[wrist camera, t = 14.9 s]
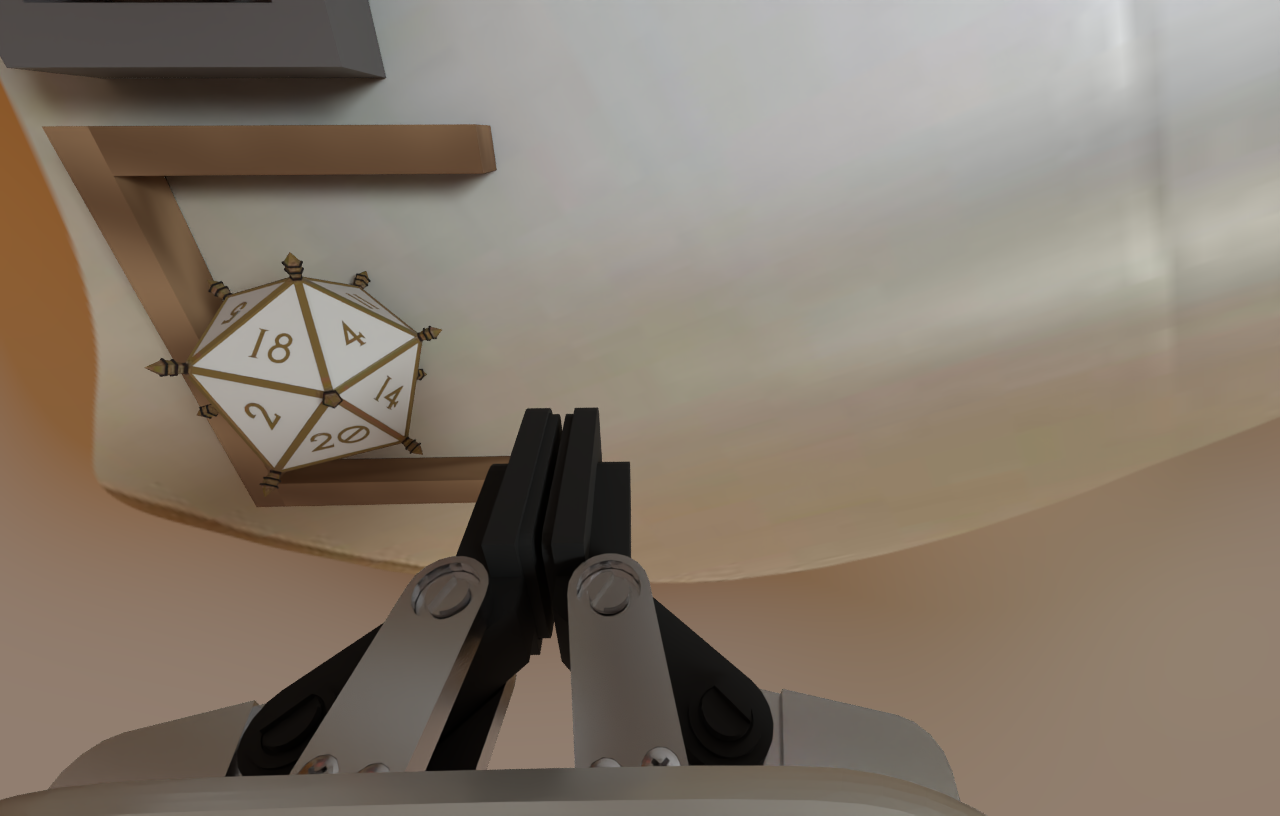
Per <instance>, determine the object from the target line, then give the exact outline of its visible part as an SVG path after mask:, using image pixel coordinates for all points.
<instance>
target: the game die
mask: <svg viewBox="0 0 1280 816" xmlns="http://www.w3.org/2000/svg"><path fill="white" fill-rule="evenodd" d="M302 263H303V261H299V260H298V259H297V258H296V257H295V256H294V255H292V254H291V253H290V252H289V254H288V256H287V257H286V259H285V261H283V262H282V264H283V265H284V266H285V268H284V270H285V271H286V272H287V273H288V274H289V275H290V277H288V278H285V279H282V280H278V281H275V282H272V283H268V284H265V285H262V286H258V287H255V288H251V289H248V290H245V291H241V292H238V293H235V294H232V293H230V291H229V288H228V287H227V286H224V284H223V282H222V281H220V282H217V281H212V280H207V282H208V286H209V291H208V292H211V293H213V294H215V295H214V296H215V297H220V298H222V299H223V300H224V301H223V303H222V305H221V306H220V308H219V309H218V311H217V313H216V314H215V316H214V317H213V319H212V321H211V322H210V324H209V325H208V327H207V329H206V330H205V332H204V333H203V335H202V336H201V338H200V340H199V341H198V343H197V344H196V346H195V348H194V349H193V351H192V352H191V354H190V356H189V357H188V359H187V360H186V362H185V363H180V362H176V361H175V360H174V359H171V361H168V360H164V359H163V358H161V359H160V361H158V362H156V363H154V364H151V365H149V366H147V367H145V368H146V369H148V370H150V371H152V372H155V373H157V374H159V376H160V377H163V376H168V375H170V376H177V375H178V374H185V375H186V376H187V377H188V379H189V380H190V381H191V382H192V383H193V384H194V385H195V386H196V388H197V389H198V390H199V391H200V392H201V393H202V394H203V395H204V397H205V398H206V399H207V400H208V401H209V402H210V403H211V404H208V405H205V406H201V407H199V408H200V410H199V412H198V414H197V416H203V417H206V418H209V419H211V418H212V417H213V416H215V417H216V416H217V415H218V413H220V415H221V416H222V417H223V418H224V419H225V420H226V421H227V422H228V424H229V425H230V426H231V427H232V428H233V429H234V430H235V431H236V433H237V434H238V435H239V436H240V437H241V438H242V439H243V440H244V442H245V443H246V444H247V445H248V446H249V447H250V448H251V449H252V451H253V452H254V453H255V454H256V455H257V456H258V457H259V459H260V460H261V461H262V462H263V463H264V464H265V465H266V466H267V468H268V469H269V470H270V472H269V474H268V475H267V476H266V477H263V479H264V480H263V482H262V483H260V484H259V485H261V486H262V490H263V493H264V496H265V497H266V496H267V495H268V494H270V493H271V492H272V491H274V490H275V489H278V488H279V487H278V484H279V482H281V480H280V475H281V474H282V473H284V472H288V471H292V470H296V469H300V468H304V467H308V466H312V465H316V464H320V463H324V462H328V461H332V460H336V459H340V458H344V457H348V456H352V455H356V454H360V453H364V452H368V451H372V450H376V449H380V448H384V447H388V446H392V445H396V444H400V443H402V444H404V446H405V447H406V448H405V449H406V450H407V449H408V450H409V451H410V454H411V453H415V454H421V455H423V453H422V450H421V446H420V444H421V443H417V442H416V440H413V439H410V438H409V437H408V435H409V428H410V421H411V414H412V407H413V401H414V394H415V387H416V380H417V379H419V380H420V381H421V380H422V378H423V377H424V376H426V375H427V374H426V373H425V372H424V371H423V369H418V367H419V360H420V353H421V346H422V341H423V340H427V341H430V340H431V339H437V336H438V335H439V333H440V332H441V331H442V329H437V328H433V327H431V326H429V328H426V329H425V328H423V331H421V332H420V333H417V332H416V331H415V330H413V329H412V328H411V327H410V326H408V325H407V324H406V323H405V322H403V321H402V320H401V319H400V318H398V317H397V316H396V315H395V314H393V313H392V312H391V311H390V310H388V309H387V308H386V307H385V306H383V305H382V304H381V303H380V302H378V301H377V300H376V299H375V298H373V297H372V296H371V295H370V294H368V293H367V292H366V291H365V290H363V289H364V287H366V286H368V282H370V280H369V278H368V275H367V272H366V271H365V272H362V273H360V274H356V278H355V285H348V284H343V283H337V282H331V281H325V280H319V279H313V278H307V277H302V272H303V270H304V268H303V267H302Z"/></svg>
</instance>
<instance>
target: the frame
mask: <svg viewBox="0 0 1280 816" xmlns="http://www.w3.org/2000/svg"><path fill="white" fill-rule="evenodd" d="M42 128H43V129H44V131H45V133H46V135H47V137H48V138H49V140H50V142H51V144H52V145H53V147H54V149H55V151H56V152H57V154H58V156H59V158H60V160H61V161H62V163H63V165H64V167H65V168H66V170H67V172H68V174H69V175H70V177H71V179H72V181H73V183H74V184H75V186H76V188H77V190H78V191H79V193H80V195H81V197H82V198H83V200H84V202H85V204H86V206H87V207H88V209H89V211H90V213H91V214H92V216H93V218H94V220H95V221H96V223H97V225H98V227H99V229H100V230H101V232H102V234H103V236H104V237H105V239H106V241H107V243H108V245H109V246H110V248H111V250H112V252H113V253H114V255H115V257H116V259H117V260H118V262H119V264H120V266H121V268H122V269H123V271H124V273H125V275H126V276H127V278H128V280H129V282H130V283H131V285H132V287H133V289H134V291H135V292H136V294H137V296H138V298H139V299H140V301H141V303H142V305H143V306H144V308H145V310H146V312H147V314H148V315H149V317H150V319H151V321H152V322H153V324H154V326H155V328H156V329H157V331H158V333H159V335H160V337H161V338H162V340H163V342H164V344H165V345H166V347H167V349H168V351H169V352H170V354H171V356H172V358H173V359H174V360H175V361H176V362H180V363H185V362H186V360H187V359H188V357H189V356H190V354H191V352H192V351H193V349H194V348H195V346H196V344H197V343H198V341H199V340H200V338H201V336H202V335H203V333H204V332H205V330H206V329H207V327H208V325H209V324H210V322H211V321H212V319H213V317H214V316H215V314H216V313H217V311H218V309H219V308H220V306H221V305H222V303H223V300H222V298H220V297H215V296H214V295H215V294H213V293H211V292H208V291H209V286H208V282H207V280H212V281H213V278H212V276H211V274H210V272H209V270H208V268H207V266H206V264H205V261H204V259H203V257H202V255H201V253H200V251H199V249H198V247H197V245H196V242H195V240H194V238H193V236H192V234H191V232H190V230H189V228H188V225H187V223H186V221H185V219H184V217H183V215H182V213H181V211H180V209H179V206H178V204H177V202H176V200H175V198H174V196H173V194H172V192H171V189H170V187H169V185H168V183H167V181H166V179H165V177H164V176H188V175H334V174H480V173H487V172H491V171H495V170H497V169H496V162H495V155H494V148H493V141H492V134H491V127H490V126H488V125H476V124H473V125H264V126H56V127H42ZM182 375H183V377H184V379H185V381H186V383H187V384H188V386H189V388H190V390H191V391H192V393H193V395H194V397H195V398H196V400H197V402H198V404H199V406H200V407H201V406H205V405H208V404H211V403H210V402H209V401H208V400H207V399H206V398H205V397H204V395H203V394H202V393H201V392H200V391H199V390H198V389H197V388H196V386H195V385H194V384H193V383H192V382H191V381H190V380H189V379H188V377H187V376H186V375H185V374H182ZM207 420H208V422H209V423H210V425H211V427H212V429H213V430H214V432H215V434H216V436H217V437H218V439H219V441H220V443H221V445H222V446H223V448H224V450H225V452H226V453H227V455H228V457H229V459H230V460H231V462H232V464H233V466H234V468H235V469H236V471H237V473H238V475H239V476H240V478H241V480H242V482H243V483H244V485H245V487H246V489H247V491H248V492H249V494H250V496H251V498H252V499H253V501H254V503H255V505H256V506H257V507H278V506H326V505H375V504H423V503H471V502H477V499H478V496H479V494H480V491H481V488H482V486H483V483H484V480H485V478H486V475H487V472H488V470H489V468H490V466H491V465H492V464H508V462H509V459H510V456H498V457H445V458H391V459H338V460H332V461H328V462H324V463H320V464H316V465H312V466H308V467H304V468H300V469H296V470H292V471H288V472H284V473H282V474H281V475H280V480H281V482H279V484H278V487H279V488H278V489H275V490H274V491H272V492H271V493H270V494H268V495H267V496H266V497H265V496H264V493H263V490H262V486H261V485H259V484H260V483H262V482H263V480H264V479H263V477H266V476H267V475H268V474H269V472H270V470H269V469H268V468H267V466H266V465H265V464H264V463H263V462H262V461H261V460H260V459H259V457H258V456H257V455H256V454H255V453H254V452H253V451H252V449H251V448H250V447H249V446H248V445H247V444H246V443H245V442H244V440H243V439H242V438H241V437H240V436H239V435H238V434H237V433H236V431H235V430H234V429H233V428H232V427H231V426H230V425H229V424H228V422H227V421H226V420H225V419H224V418H223V417H222V416H221V415H220V413H218V415H217V416H216V417H215V416H213V417H212V418H211V419H209V418H207Z"/></svg>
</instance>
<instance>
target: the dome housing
mask: <svg viewBox="0 0 1280 816" xmlns="http://www.w3.org/2000/svg"><path fill="white" fill-rule="evenodd" d="M0 56H1V58H2V60H3V62H4V64H5V65H6V67H7V68H15V69H24V70H33V71H42V72H51V73H60V74H69V75H78V76H87V77H96V78H386V75H385V71H384V67H383V62H382V58H381V54H380V49H379V45H378V41H377V36H376V32H375V28H374V23H373V19H372V15H371V11H370V6H369V2H368V0H272V3H113V2H112V0H0Z"/></svg>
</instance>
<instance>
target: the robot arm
mask: <svg viewBox="0 0 1280 816" xmlns="http://www.w3.org/2000/svg"><path fill="white" fill-rule="evenodd" d="M554 622H555V627H556V633H557V638H558V643H559V649H560V654H561V659H562V662H563V663H564V664H565V665H566V667H567V668H568V669H569V670H570V671H571V686H572V710H573V733H574V754H575V768H548V769H505V770H487V767H488V764H489V761H490V758H491V755H492V752H493V749H494V746H495V743H496V740H497V737H498V734H499V731H500V728H501V725H502V722H503V719H504V716H505V714H506V710H507V708H508V705H509V702H510V698H511V696H512V693H513V689H514V686H515V681H516V676H517V675H516V673H517V672H518V671H519V670H521V668H523V667H524V666H525V665H526V664H527V663H528V662H529V659H530V655H540V651H541V645H542V639H543V638H551V636H552V631H553V624H554ZM0 816H987V815H986V814H984V813H982V812H981V811H979V810H977V809H975V808H973V807H971V806H969V805H967V804H965V803H962V802H960V798H959V795H958V791H957V787H956V784H955V780H954V776H953V773H952V770H951V767H950V765H949V763H948V760H947V758H946V756H945V754H944V751H943V750H942V749H941V748H940V746H939V745H938V744H937V743H936V741H935V740H934V739H933V738H932V736H931V735H930V734H929V733H927V732H926V731H925V730H924V729H922V728H921V727H920V726H918V725H917V724H916V723H915V722H913V721H910V720H908V719H906V718H903V717H901V716H898V715H895V714H890V713H886V712H881V711H877V710H872V709H868V708H864V707H860V706H855V705H851V704H847V703H842V702H837V701H833V700H829V699H825V698H820V697H816V696H811V695H806V694H803V693H798V692H794V691H789V690H785V689H782V691H781V694H779V693H775V692H770V691H766V690H762V689H759V688H758V687H757V686H756V685H755V684H754V683H753V682H752V680H750V679H749V678H748V677H747V676H746V675H744V674H743V673H742V672H741V671H740V670H739V669H737V668H736V667H735V666H734V665H733V664H732V663H730V662H729V661H728V660H727V659H726V658H724V657H723V656H722V655H721V654H720V653H718V652H717V651H716V650H715V649H714V648H713V647H711V646H710V645H709V644H708V643H707V642H705V641H704V640H703V639H702V638H701V637H699V636H698V635H697V634H696V633H695V632H694V631H692V630H691V629H690V628H689V627H688V626H687V625H685V624H684V623H683V622H682V621H681V620H679V619H678V618H677V617H676V616H675V615H674V614H672V613H671V612H670V611H669V610H668V609H666V608H665V607H664V606H663V605H662V604H661V603H659V602H658V601H657V600H656V599H655V598H653V597H652V592H651V587H650V583H649V579H648V577H647V574H646V572H645V570H644V569H643V568H642V567H641V566H640V564H639V563H638V562H636V561H635V560H633V559H631V489H630V462H602V453H601V438H600V422H599V410H598V408H575V410H574V414H566V416H565V421H564V426H563V431H562V425H561V417H560V415H559V414H552V410H551V409H550V408H531V409H526V411H525V414H524V417H523V420H522V423H521V426H520V429H519V432H518V435H517V438H516V441H515V444H514V447H513V450H512V453H511V456H510V459H509V462H508V464H492V465H491V466H490V468H489V470H488V472H487V475H486V478H485V480H484V483H483V486H482V488H481V491H480V494H479V496H478V499H477V502H476V504H475V507H474V510H473V512H472V515H471V518H470V520H469V523H468V526H467V528H466V531H465V533H464V536H463V539H462V541H461V544H460V547H459V549H458V552H457V555H456V556H452V557H448V558H444V559H440V560H438V561H436V562H434V563H432V564H430V565H428V566H426V567H425V568H424V569H423V570H421V571H420V572H419V573H417V574H416V575H415V576H414V578H413V579H412V580H411V581H410V583H409V584H408V585H407V587H406V588H405V590H404V592H403V593H402V595H401V596H400V598H399V599H398V601H397V603H396V604H395V606H394V607H393V609H392V611H391V612H390V614H389V615H388V617H387V619H386V621H385V622H384V623H383V624H381V625H380V626H378V627H377V628H375V629H374V630H372V631H371V632H369V633H368V634H366V635H365V636H363V637H362V638H360V639H359V640H357V641H356V642H354V643H353V644H351V645H350V646H348V647H347V648H345V649H344V650H342V651H341V652H339V653H338V654H336V655H335V656H333V657H332V658H330V659H329V660H327V661H326V662H324V663H323V664H321V665H320V666H318V667H317V668H315V669H314V670H312V671H311V672H309V673H308V674H306V675H305V676H303V677H302V678H300V679H299V680H297V681H296V682H294V683H293V684H291V685H290V686H288V687H287V688H285V689H284V690H282V691H281V692H280V693H279V694H277V695H276V696H275V697H274V698H272V699H271V700H270V701H268V702H267V703H266V704H262V705H259V704H258V703H257V702H256V701H255V700H254V701H250V702H246V703H242V704H238V705H234V706H229V707H225V708H221V709H217V710H213V711H209V712H206V713H201V714H197V715H193V716H189V717H185V718H181V719H177V720H173V721H169V722H165V723H161V724H157V725H153V726H149V727H144V728H140V729H137V730H133V731H129V732H124V733H122V734H119V735H117V736H114V737H111V738H109V739H106V740H104V741H102V742H101V743H99V744H98V745H96V746H94V747H93V748H91V749H90V750H88V751H86V752H85V753H83V754H82V755H81V756H80V757H78V758H77V759H76V760H75V761H74V762H73V763H71V765H69V766H68V767H67V768H66V769H65V770H64V771H63V772H61V774H60V775H59V776H58V777H57V779H56V780H55V781H54V782H53V784H52V785H51V786H50V787H49V789H48V790H43V791H38V792H33V793H27V794H23V795H17V796H13V797H10V798H6V799H2V800H0Z"/></svg>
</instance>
